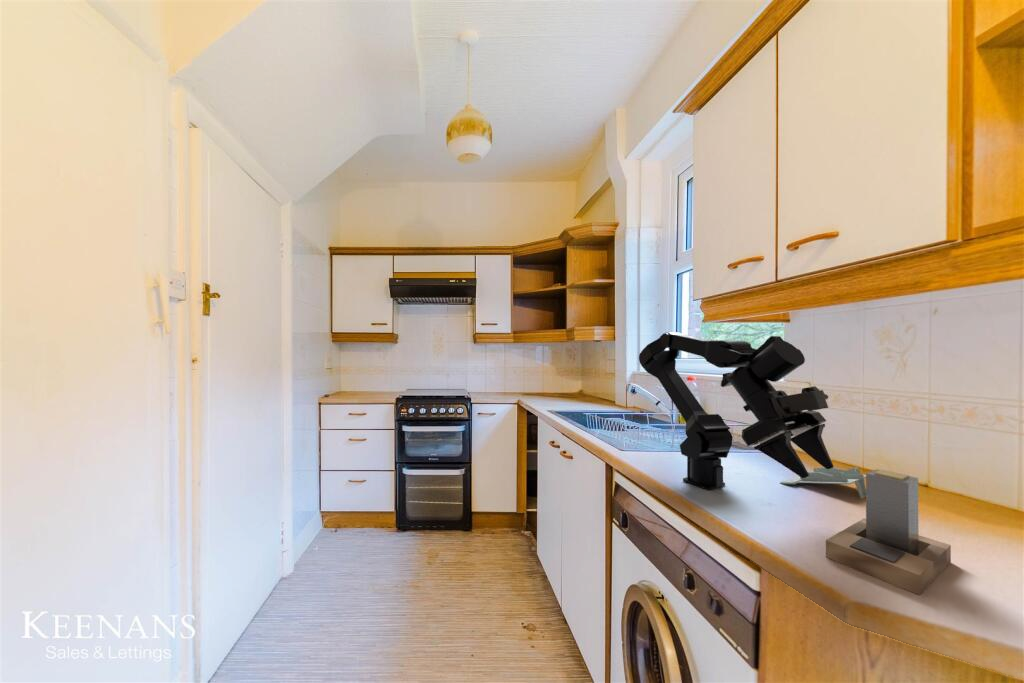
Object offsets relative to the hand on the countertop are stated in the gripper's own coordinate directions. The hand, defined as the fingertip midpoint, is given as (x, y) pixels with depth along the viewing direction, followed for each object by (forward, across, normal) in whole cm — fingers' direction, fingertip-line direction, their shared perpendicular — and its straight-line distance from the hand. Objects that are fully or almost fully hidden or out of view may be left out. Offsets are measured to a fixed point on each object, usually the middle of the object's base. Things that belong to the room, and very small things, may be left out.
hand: (818, 472), depth 62 cm
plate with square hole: (+13, -2, -1) cm, 13 cm away
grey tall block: (+13, 0, -1) cm, 13 cm away
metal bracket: (+3, +26, +13) cm, 30 cm away
